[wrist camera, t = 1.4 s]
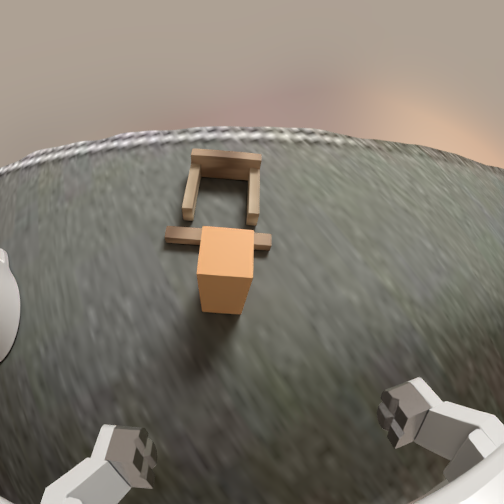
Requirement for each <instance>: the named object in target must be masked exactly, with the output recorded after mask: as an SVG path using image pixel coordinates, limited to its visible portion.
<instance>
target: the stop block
mask: <svg viewBox="0 0 504 504" xmlns="http://www.w3.org/2000/svg"><path fill="white" fill-rule="evenodd" d="M253 254H254V230H246V229H234V228H222V227H209V226H203V227H202V234H201V242H200V250H199V258H198V267H197V280H198V287H199V293H200V300H201V307H202V312H212V313H225V314H241V313H242V310H243V307H244V304H245V301H246V297H247V294H248V291H249V288H250V285H251V282H252V279H253Z"/></svg>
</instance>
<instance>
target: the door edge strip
mask: <svg viewBox="0 0 504 504" xmlns="http://www.w3.org/2000/svg"><path fill="white" fill-rule="evenodd" d="M201 234H202V228H189V227H175V226H167V228H166V233H165V241H166V243H179V244H192V245H200V242H201ZM270 248H271V234H264V233H254V249H255V250H268V251H270Z"/></svg>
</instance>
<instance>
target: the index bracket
mask: <svg viewBox="0 0 504 504" xmlns="http://www.w3.org/2000/svg"><path fill="white" fill-rule="evenodd" d="M260 165H261V154H254V153H244V152H233V151H221V150H207V149H192V153H191V167H190V172H189V176H188V181H187V185H186V190H185V195H184V200H183V204H182V213H183V220H190V221H193V219H194V213H195V207H196V201H197V196H198V190H199V184H200V179H201V177H211V178H224V179H236V180H247V181H248V197H247V220H246V225H253V226H256V225H257V221H258V217H259V187H260Z"/></svg>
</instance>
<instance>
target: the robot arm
mask: <svg viewBox="0 0 504 504" xmlns="http://www.w3.org/2000/svg"><path fill="white" fill-rule="evenodd" d="M19 318H20V295H19V290H18V286H17V283H16V280H15V278H14V276H13V275H12V273H11V271H10V269H9V262H8V255H7V252H6V251H4V250H3V249H0V362H1V361H2V360H3V359H4V358H5V357H6V355H7V354H8V352H9V351H10V349H11V347H12V345H13V342H14V340H15V337H16V333H17V330H18V325H19ZM381 399H382V401H383V402H382V403H381V404H380V405H379V406H378V410H377V418H378V421H379V424H380V426H381V427H382V429H384V430H387V431H388V435H387V437H388V439H389V441H390V442H391V444H392V446H393V447H394V449H396V448H398V447H401V446H403V445H406V444H408V443H410V442H413V441H414V442H415V443H417V444H419V445H421V446H423V447H425V448H427V449H429V450H430V451H432V452H434V453H436V454H438V455H440V456H442V457H444V458H446V459H448V460H451V461H450V463H449V464H448V465H447V467H446V468H445V469H444V472H443V474H444V475H445V477H446V478H447V480H448V481H449V484H447V485H445V486H444V487H442V488H440V489H439V490H437V491H435V492H434V493H432V494H430V495H428V496H427V497H425V498H423V499H421V500H419V501H417V502H415V503H413V504H504V425H503V424H502V423H501V422H500V421H499V419H498V418H497V417H496V416H495V415H492V414H488V413H485V412H481V411H477V410H474V409H471V408H467V407H464V406H461V405H457V404H454V403H451V402H448V401H445V402H442V400H441V399H440V398H439V397H438V396H437V395H436V394H435V393H434V391H433V390H432V389H431V388H430V387H429V386H428V385H427V384H426V383H425V382H424V380H423V379H422V378H419V377H418V378H416V379H413V380H411V381H408V382H405V383H402V384H400V385H397V386H395V387H392V388H389V389H386V390H384V391H383V392H382V395H381ZM156 464H157V450H156V447H155V444H154V443H153V441H152V440H150V439H148V432H147V431H146V429H145V428H141V427H127V426H116V425H106V424H104V425H103V426H102V427H101V430H100V433H99V435H98V438H97V441H96V444H95V447H94V449H93V452H92V455H91V458H86V459H85V460H83V461H82V462H81V463H79V464H78V465H77V466H75V467H74V468H73V469H71V470H70V471H69V472H67V473H66V474H65V475H63V476H62V477H61V478H59V479H58V480H56V481H55V482H54V483H52V484H51V485H49V486H48V487H47V488H46V489H45V492H44V495H43V498H42V501H41V504H117V503H118V502H119V501H120V500H121V499H122V498H123V497H124V496H125V494H126V493H127V492H128V491H129V490H130V489H131V487H138V488H152V489H153V486H154V479H155V473H154V472H153V470H152V468H153V467H154V466H155V465H156ZM0 504H14V503H12V502H10V501H8V500H6V499H4V498H3V497H1V496H0Z"/></svg>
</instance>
